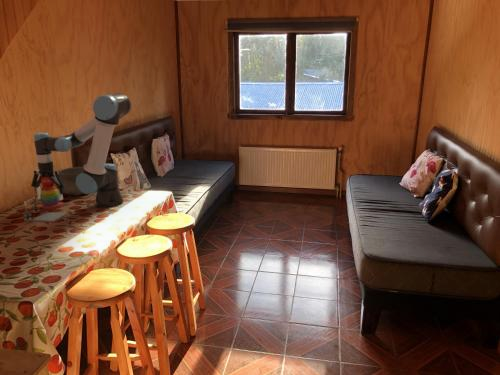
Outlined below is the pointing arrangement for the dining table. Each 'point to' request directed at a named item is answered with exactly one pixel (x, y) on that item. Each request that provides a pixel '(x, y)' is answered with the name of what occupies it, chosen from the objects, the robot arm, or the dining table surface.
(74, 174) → the bowl
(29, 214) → the miniature post railing
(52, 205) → the stacking bear
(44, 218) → the mat
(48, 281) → the dining table surface
